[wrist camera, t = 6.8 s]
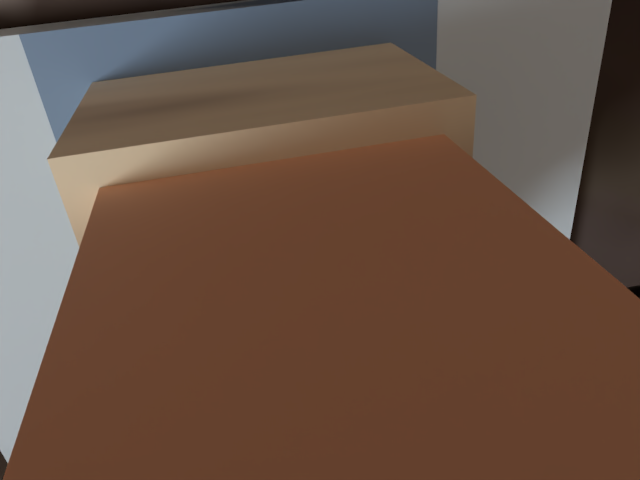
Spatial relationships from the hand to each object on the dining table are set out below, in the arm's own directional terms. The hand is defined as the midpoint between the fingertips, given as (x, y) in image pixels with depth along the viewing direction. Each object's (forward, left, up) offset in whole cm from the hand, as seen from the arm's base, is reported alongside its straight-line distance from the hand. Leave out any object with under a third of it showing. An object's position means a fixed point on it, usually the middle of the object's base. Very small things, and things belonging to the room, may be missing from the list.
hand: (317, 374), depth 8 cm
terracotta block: (0, 0, -2) cm, 2 cm away
